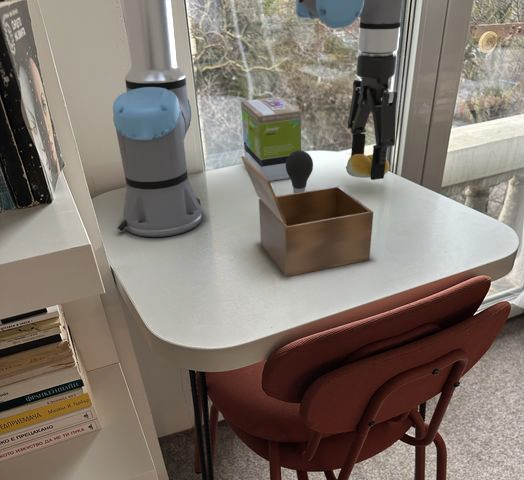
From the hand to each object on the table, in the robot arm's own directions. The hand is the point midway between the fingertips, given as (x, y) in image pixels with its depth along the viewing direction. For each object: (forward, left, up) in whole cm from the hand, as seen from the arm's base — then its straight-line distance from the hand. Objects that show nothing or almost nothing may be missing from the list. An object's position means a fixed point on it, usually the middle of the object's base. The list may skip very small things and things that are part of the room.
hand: (366, 171), depth 118 cm
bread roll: (0, 0, 0) cm, 1 cm away
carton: (-23, -24, -4) cm, 33 cm away
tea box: (-15, +20, -4) cm, 25 cm away
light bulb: (-16, 0, -4) cm, 16 cm away
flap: (-31, -24, +9) cm, 41 cm away
